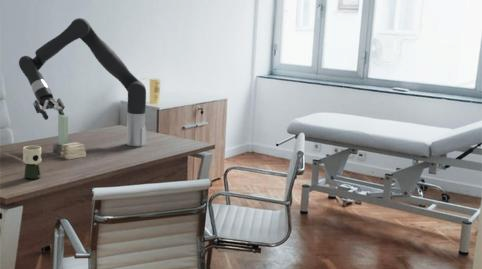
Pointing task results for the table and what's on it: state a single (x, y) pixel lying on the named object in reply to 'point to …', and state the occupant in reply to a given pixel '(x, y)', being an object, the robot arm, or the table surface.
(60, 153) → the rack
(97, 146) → the table surface
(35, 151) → the character mug
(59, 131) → the slat
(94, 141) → the table surface
